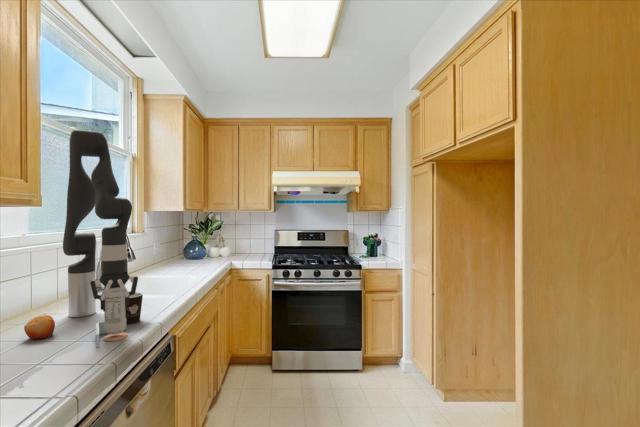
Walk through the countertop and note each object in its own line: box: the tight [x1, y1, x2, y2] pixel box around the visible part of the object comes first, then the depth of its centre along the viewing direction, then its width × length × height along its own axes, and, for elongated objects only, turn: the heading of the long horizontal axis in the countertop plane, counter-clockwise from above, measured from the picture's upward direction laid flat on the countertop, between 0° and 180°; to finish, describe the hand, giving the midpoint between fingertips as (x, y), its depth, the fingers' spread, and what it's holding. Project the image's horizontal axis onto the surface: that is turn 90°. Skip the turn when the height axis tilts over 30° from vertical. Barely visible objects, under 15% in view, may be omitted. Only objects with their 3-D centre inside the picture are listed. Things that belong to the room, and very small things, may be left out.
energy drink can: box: [103, 287, 127, 335], centre depth 117 cm, size 6×6×15 cm
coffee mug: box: [125, 292, 144, 326], centre depth 133 cm, size 12×9×10 cm
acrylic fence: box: [95, 320, 127, 349], centre depth 117 cm, size 14×9×4 cm, turn 32°
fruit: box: [23, 314, 56, 340], centre depth 118 cm, size 8×8×8 cm
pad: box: [102, 331, 129, 342], centre depth 117 cm, size 7×7×1 cm
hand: (115, 309), depth 117 cm, fingers closed on energy drink can, 5 cm apart
